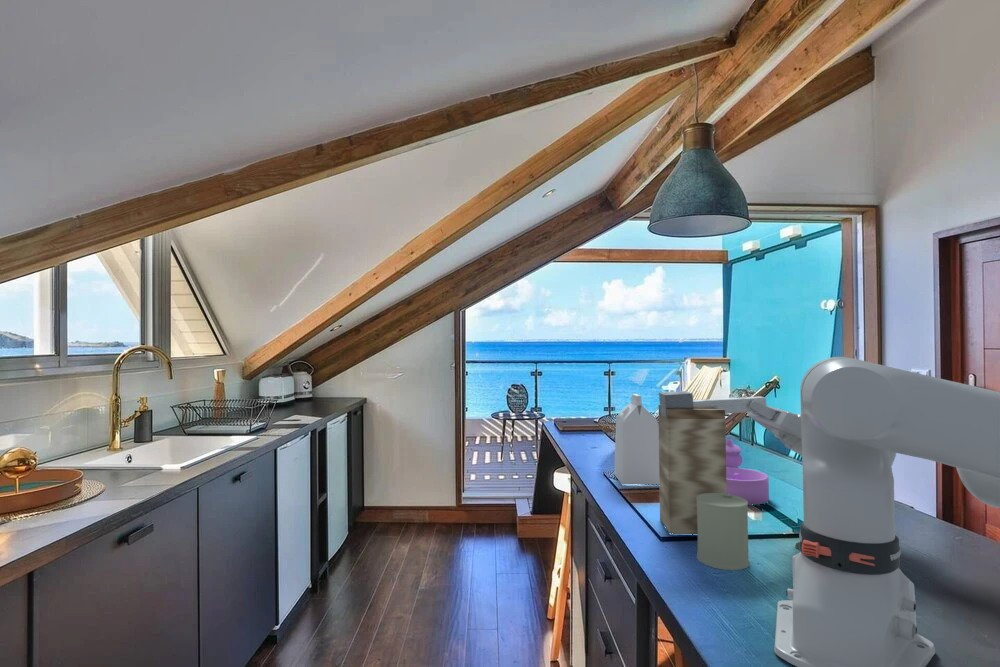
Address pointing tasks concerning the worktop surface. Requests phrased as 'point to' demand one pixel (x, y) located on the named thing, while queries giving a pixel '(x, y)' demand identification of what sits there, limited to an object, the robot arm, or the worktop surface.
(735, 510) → the can
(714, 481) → the post
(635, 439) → the milk
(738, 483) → the container set
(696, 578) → the worktop surface
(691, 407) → the steel bar
